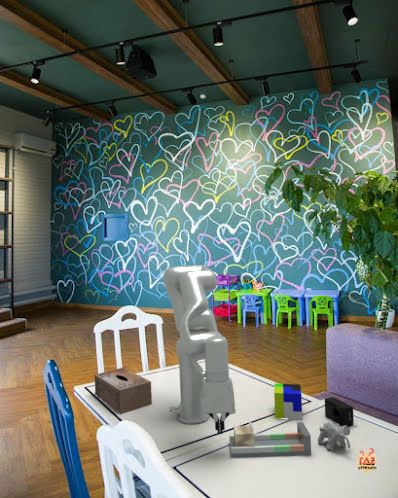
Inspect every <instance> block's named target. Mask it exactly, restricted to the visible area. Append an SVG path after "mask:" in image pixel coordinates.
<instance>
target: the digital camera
mask: <svg viewBox="0 0 398 498" xmlns="http://www.w3.org/2000/svg"><path fill="white" fill-rule="evenodd" d="M324 417H325V418H327V419H328V420H330V421H331V422H333V423H334V424H337V423H338V424H339V425H340V426H341V427H342V426H345V425H346V426H348V427H349V428H351V427H353V426H354V406H352V405H351V404H348V403H347V402H344V401H342V400H341V399H338V398H336V397H334V396H331V397H328V398H327V397H326V398H324Z"/></svg>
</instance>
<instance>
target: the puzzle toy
mask: <svg viewBox="0 0 398 498" xmlns="http://www.w3.org/2000/svg"><path fill="white" fill-rule="evenodd" d="M273 388H274V391H273V392H274V393H273V395H274V398H273V399H274V419H275V418H288V419H290V420H289V421H303V402H302V401H303V399H302V388H301V384H300V383H298V384H297V383H296V384H295V383H274V387H273Z"/></svg>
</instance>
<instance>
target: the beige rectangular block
mask: <svg viewBox="0 0 398 498" xmlns="http://www.w3.org/2000/svg"><path fill="white" fill-rule="evenodd" d="M255 434H256V433H255V431H254V428H253V424H252V421H248V425H233V435H234V443H235V447H241V446H254V436H255Z"/></svg>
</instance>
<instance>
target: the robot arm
mask: <svg viewBox="0 0 398 498" xmlns="http://www.w3.org/2000/svg"><path fill="white" fill-rule="evenodd" d="M163 283H164V287H165V290H166V293H167V296H168V297H169V299H170V301H171V305H172V310H173V317H174V322H175V326H176V330H177V331H178V333H179V336H180V337H179V339H178V340H177V342H176V345H175V346H176V347H175V348H176V354H177V360H178V366H179V367H178V368H179V369H178V370H179V389H180V392H179V393H180V403H179V404H178V405H177V406H171V405H170V406H169V412H171V414H172V415H173V414H176V415H177V416H176V418H177V420H178V422H181V423H183V424H187V425H195V424H196V425H198V424H202V423H204V422H206V421H208V420H209V418H211V419H213V421H214V428H215V429H214V430H215V431H217V435H220V434H221V435H223V434H224V433H223V432H224V431H225V429H226V428H225V421H226V419H227V418H228V417H229V416H230V415H234V414H236V411H237V410H236V405H235V403H236V402H235V390H234V385H233V381H232V378H231V377H230V370H229V369H230V368H229V350H228V347H229V346H228V345H229V344H228V340H227V338H226V337H225V336H223V335H222V334H221V333H220V332H219V330H218V326H217V322H216V317H215V315H214V312H213V311H212V309H210V308H209V306H210V305H209V301H208V297H207V295H206V292H213V291H215V290H216V288H217V286H218V279H217V276H216V274H215V272H214V271H213V270H212V269H210V268H208V267H207V266H205V265H200V264H193V265H178V266H177V265H176V266H171V267H168V268H167V269H165V271H164V273H163ZM202 360H204V365H205V370H204V369H203V367H202V366H201V365H200V364H199V363H198V361H202ZM218 414H220V417H219V416H218Z"/></svg>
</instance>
